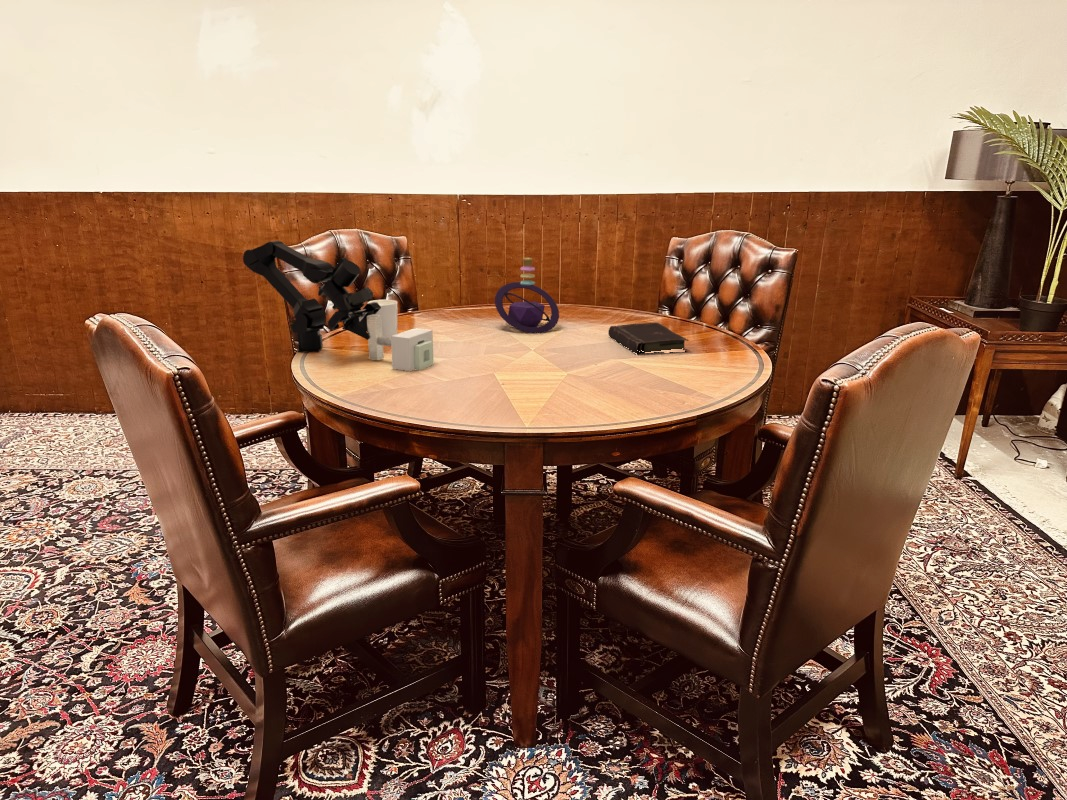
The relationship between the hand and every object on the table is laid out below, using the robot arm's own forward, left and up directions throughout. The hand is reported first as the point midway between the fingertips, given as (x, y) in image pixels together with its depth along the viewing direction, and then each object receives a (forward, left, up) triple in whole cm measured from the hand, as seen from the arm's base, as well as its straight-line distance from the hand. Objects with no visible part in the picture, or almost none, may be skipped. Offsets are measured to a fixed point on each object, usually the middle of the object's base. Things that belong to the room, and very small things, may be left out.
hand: (372, 337), depth 214 cm
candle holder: (0, +29, -7) cm, 30 cm away
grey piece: (+6, -4, -7) cm, 10 cm away
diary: (+87, +16, -7) cm, 89 cm away
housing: (+12, -7, -7) cm, 16 cm away
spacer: (+16, -9, -7) cm, 19 cm away
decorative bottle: (+49, +42, -7) cm, 65 cm away
